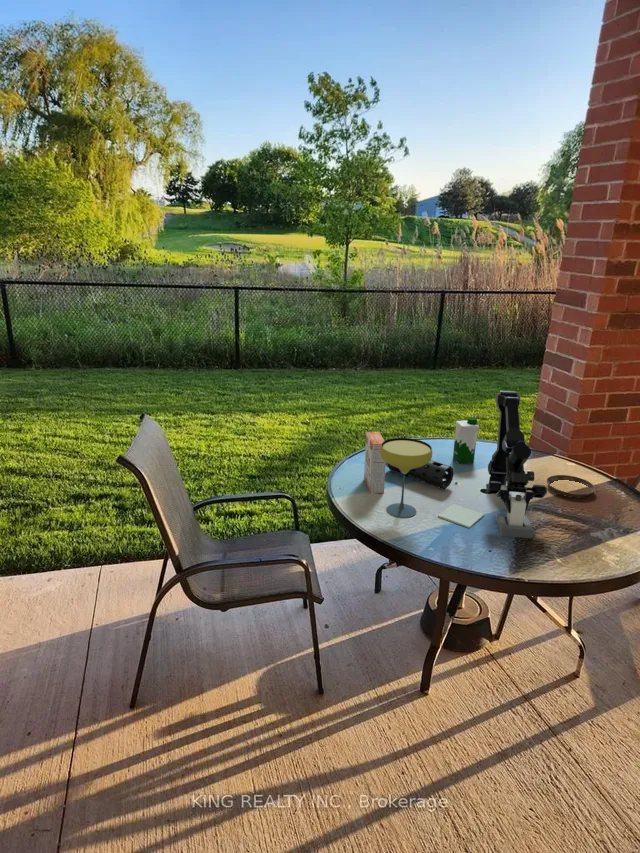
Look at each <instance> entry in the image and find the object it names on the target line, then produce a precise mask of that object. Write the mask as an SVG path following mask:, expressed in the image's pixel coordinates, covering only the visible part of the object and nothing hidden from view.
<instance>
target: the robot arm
mask: <svg viewBox="0 0 640 853" xmlns="http://www.w3.org/2000/svg"><path fill="white" fill-rule="evenodd" d="M494 397H495V398H494V401H495V405H496V406H495V407H496V408H497V410H498V413H499V420H498V432H497V444H496V449H495V451H494V453H493V454H492V455H491V459H490V460H489V462H488V464H487V471H488V475H489V479H488V483H487V484H485V486H486V494H487V495H497V497H498V498H500V500H501V501H502V503H503V504H504V506H505V508H506V510H507V513H508V512H509V513H511V506H510V493H521V494H522V493H524V496H523V497H522V498H524V500H525V502H526V509H525V515H526V513H527V509H528V507H529V504H530V501H531V500H533V499H534V498H535V499H536V498H537V499H542V498H544V497H545V496H546V495H547V493H548V488H547V486H546V485H544V484H533V485H532V487H528V486H527V485H528V484H529V482H534V481H535V471H531V470H530V471H529V470H528V471H525V464H526V462H527V461H528V460H529V458H530V456H531V454H532V449H531V447H530V446H529V445H528V443H527V441H526V440H525V434H524V433H523V432H522V431H521V426H520V414H519V411H520V410H519V406H520V404H521V395H520V394H518V393H517V391H516V390H515V391H514V390H503V389H502V390H501V389H500V390H499V391H498V392H496V393H495V396H494Z"/></svg>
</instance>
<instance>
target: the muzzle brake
mask: <svg viewBox="0 0 640 853" xmlns="http://www.w3.org/2000/svg"><path fill="white" fill-rule="evenodd" d="M385 468H388V469H389V470H390V471H392V472H395V473H398V474H399V473H400V475H401V474H402V475H401V476H403V473H402V472H401V471H400V470H399V468H397V467H394V466H392V465H390V464H388V463H387V462H386V464H385ZM454 473H455V472H454V468H453V467H452V466H451V465H447V464H444V463H441V462H438V461H434V460H432V459H431V460H430V461H429V462H428V463H427V464H426V465H424V466H421V467H418V468H414V469H411V470H410V471H409V472H408V473H406V474H405V477H406V476H407V477H411V478H414V479H417V480H419V481H420V482H423V483H425V484H427V485H430V486H433V487H435V488H439V489H442V490H447V489H448V487H449V486H450V485H451V483H452V481H453V479H454V475H455V474H454Z"/></svg>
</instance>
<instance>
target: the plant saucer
mask: <svg viewBox="0 0 640 853" xmlns="http://www.w3.org/2000/svg"><path fill="white" fill-rule="evenodd" d="M558 480H569V481H575V482H579V483H582V484H584V485H586V486H588V487H589V488H591V493H587V494H574V493H568V492H564V491H561V490H558V489H556V488H554V487H552V486H550V484H551V483H553V482H554V481H558ZM546 483H547V486H548V488H550V490H551V489H552V490H551V491H553V492H554V493H555V492H556V493H555V494H557V493H559V494H558V495H560V494H561V495H560V496H563V495H566V496H571V497H570V498H572V497H583V498H586V497H585V496H587V497H588V495H589V496H591V495H592V494H593V493H594V492H595V490H596V487H595V485H594V484H593V483H592V482H590V481H589V480H586V479H583V478H581V477H577V476H573V475H567V474H566V475H565V474H556V475H555V474H553V475H551V476H548V477H547V478H546ZM566 496H565V497H566Z"/></svg>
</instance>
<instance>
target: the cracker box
mask: <svg viewBox="0 0 640 853" xmlns="http://www.w3.org/2000/svg"><path fill="white" fill-rule="evenodd" d="M384 441H385V439H384V438H383V436H382V434H381V432H380V431H366V432H365V449H364V450H365V451H364V474H363V475H364V476H363V479H364V482H365V484H366V487H367V489H368V491H369V494H370V493H375V494H384V493H385V482H386V481H385V479H386V465H385V464H386V461H384V460H383V459H382V457H381V455H380V446H381V444H382V443H383V442H384Z"/></svg>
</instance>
